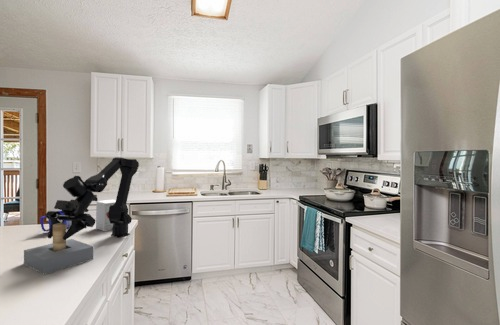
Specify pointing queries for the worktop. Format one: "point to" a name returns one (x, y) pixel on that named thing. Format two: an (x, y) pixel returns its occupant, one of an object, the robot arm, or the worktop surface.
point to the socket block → (57, 256)
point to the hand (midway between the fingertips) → (56, 238)
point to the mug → (49, 222)
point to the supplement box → (103, 215)
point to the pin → (59, 236)
